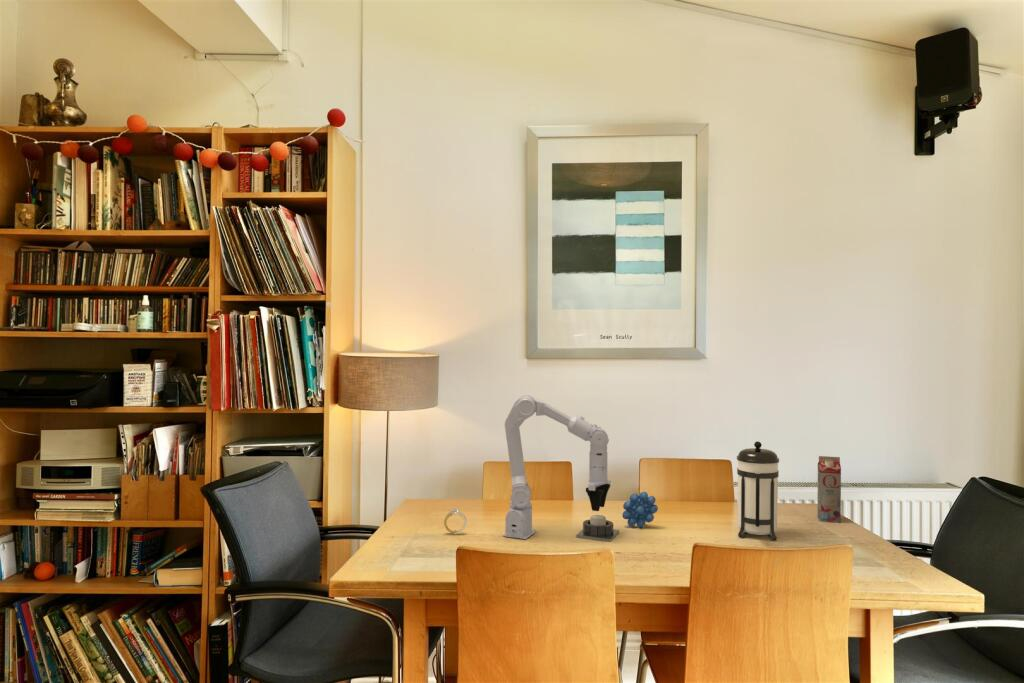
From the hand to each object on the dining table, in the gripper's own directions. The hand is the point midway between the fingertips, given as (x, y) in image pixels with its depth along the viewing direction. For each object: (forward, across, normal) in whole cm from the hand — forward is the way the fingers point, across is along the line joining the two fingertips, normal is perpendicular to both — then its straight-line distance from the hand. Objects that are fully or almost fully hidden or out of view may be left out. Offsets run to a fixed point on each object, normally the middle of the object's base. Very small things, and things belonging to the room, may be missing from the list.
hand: (598, 508), depth 217 cm
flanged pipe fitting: (+8, 0, 0) cm, 8 cm away
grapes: (+9, +15, -10) cm, 20 cm away
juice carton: (+9, +51, -68) cm, 85 cm away
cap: (+8, 0, 0) cm, 8 cm away
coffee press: (+9, +20, -47) cm, 52 cm away
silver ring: (+9, -18, +42) cm, 46 cm away
